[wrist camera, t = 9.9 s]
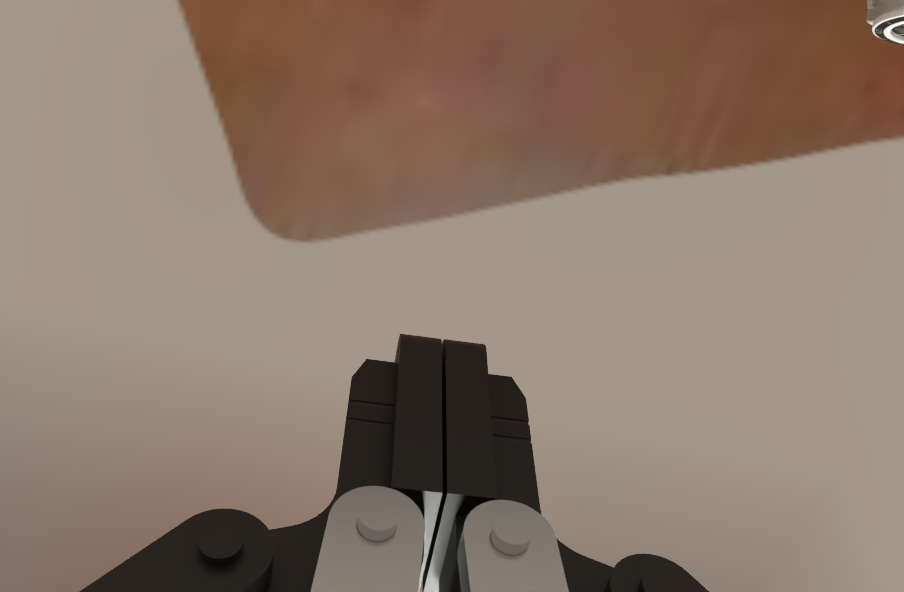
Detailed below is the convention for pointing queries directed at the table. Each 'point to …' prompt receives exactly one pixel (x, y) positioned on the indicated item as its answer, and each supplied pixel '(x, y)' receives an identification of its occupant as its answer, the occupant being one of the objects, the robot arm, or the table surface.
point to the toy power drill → (887, 19)
